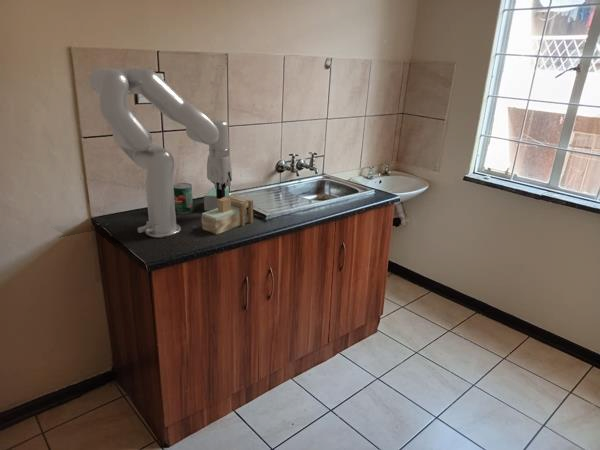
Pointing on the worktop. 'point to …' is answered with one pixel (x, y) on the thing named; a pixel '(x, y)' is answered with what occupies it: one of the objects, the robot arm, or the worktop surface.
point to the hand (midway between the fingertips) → (220, 197)
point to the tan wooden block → (237, 201)
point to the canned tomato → (183, 198)
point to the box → (212, 199)
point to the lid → (222, 210)
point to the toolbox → (229, 220)
